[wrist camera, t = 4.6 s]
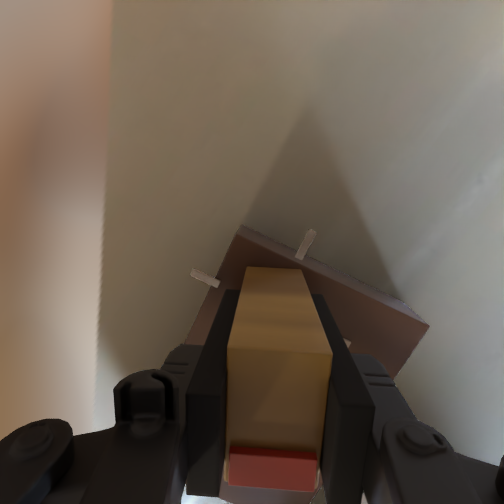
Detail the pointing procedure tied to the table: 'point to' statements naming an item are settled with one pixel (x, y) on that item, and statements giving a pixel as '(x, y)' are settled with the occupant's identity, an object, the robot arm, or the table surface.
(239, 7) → the table surface
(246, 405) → the tan wooden block
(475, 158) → the table surface
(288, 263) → the plate
